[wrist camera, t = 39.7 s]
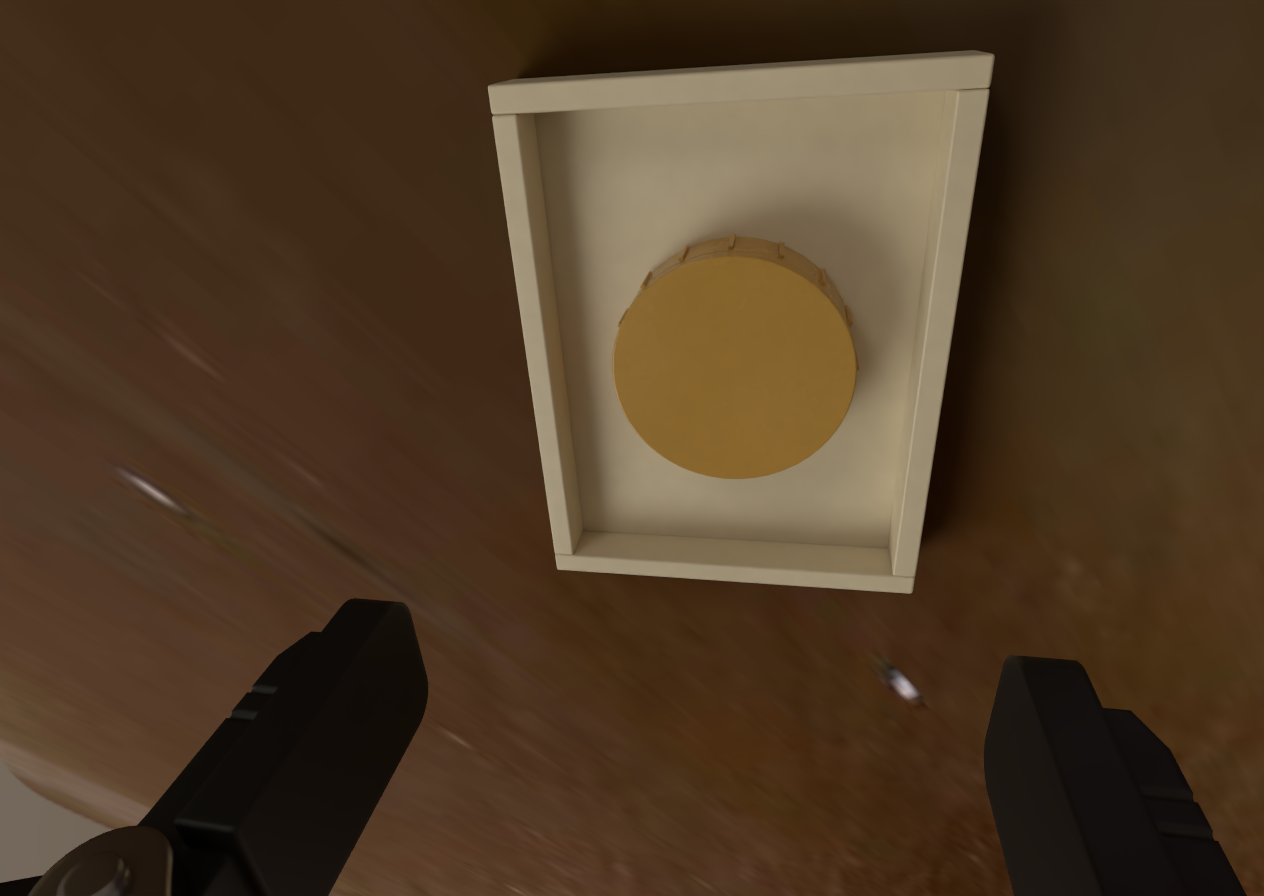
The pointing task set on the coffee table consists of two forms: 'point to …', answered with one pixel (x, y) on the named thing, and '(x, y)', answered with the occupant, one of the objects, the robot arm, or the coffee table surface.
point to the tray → (756, 208)
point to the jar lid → (735, 358)
